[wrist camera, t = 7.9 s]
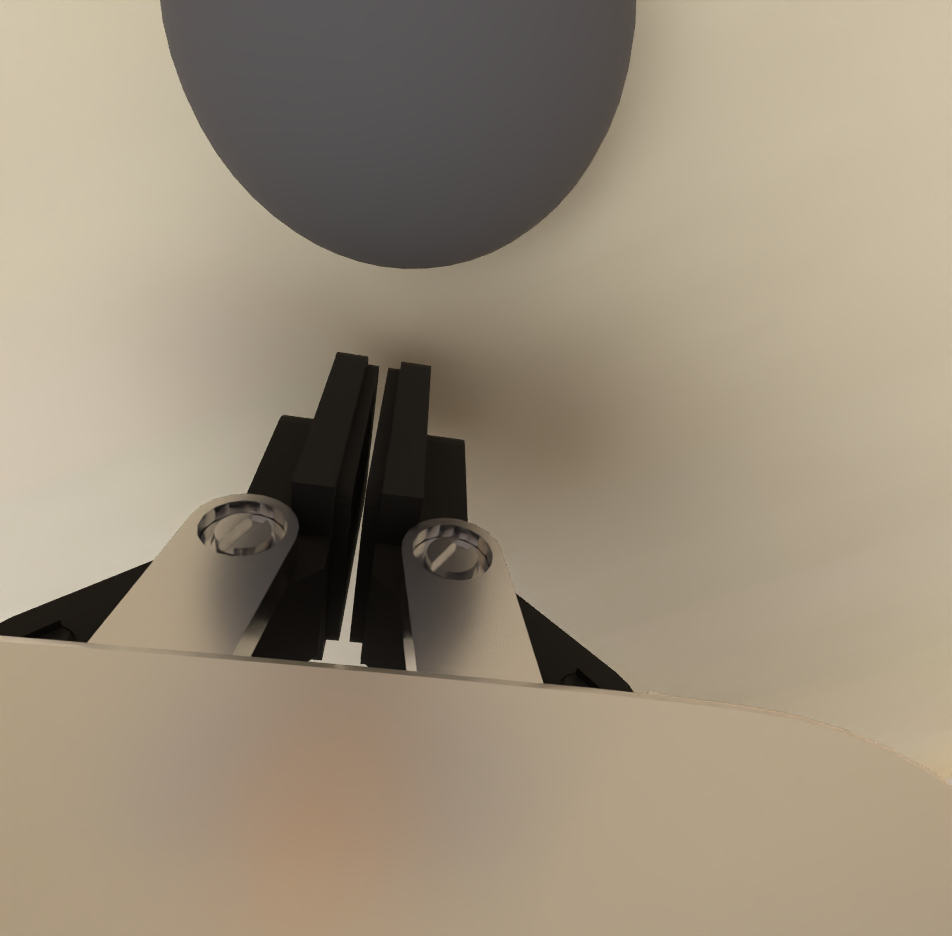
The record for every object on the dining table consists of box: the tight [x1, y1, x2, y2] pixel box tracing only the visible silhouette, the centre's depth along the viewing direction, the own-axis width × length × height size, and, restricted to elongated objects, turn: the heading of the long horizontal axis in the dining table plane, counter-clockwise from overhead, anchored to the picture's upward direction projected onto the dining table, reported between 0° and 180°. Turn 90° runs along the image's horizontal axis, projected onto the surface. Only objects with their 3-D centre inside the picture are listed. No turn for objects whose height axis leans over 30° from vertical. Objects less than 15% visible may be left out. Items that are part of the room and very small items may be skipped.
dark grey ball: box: [160, 0, 636, 269], centre depth 8 cm, size 6×6×6 cm
